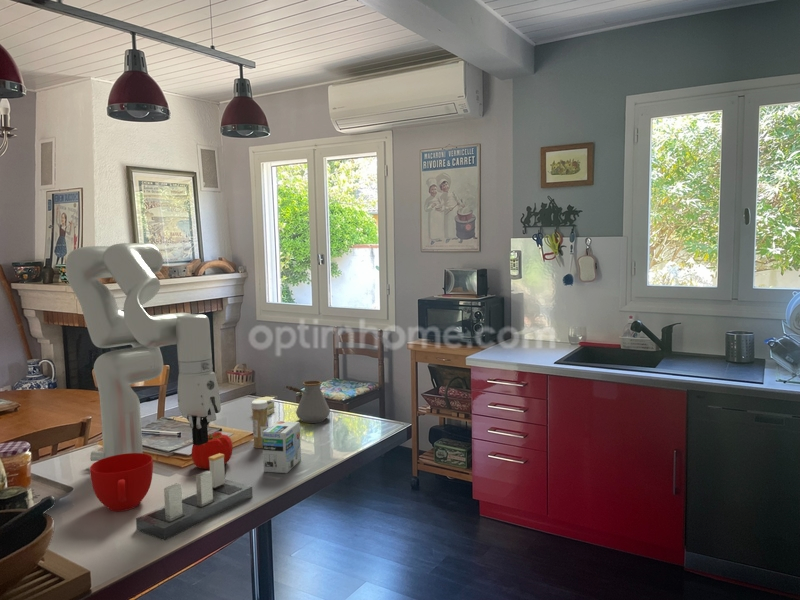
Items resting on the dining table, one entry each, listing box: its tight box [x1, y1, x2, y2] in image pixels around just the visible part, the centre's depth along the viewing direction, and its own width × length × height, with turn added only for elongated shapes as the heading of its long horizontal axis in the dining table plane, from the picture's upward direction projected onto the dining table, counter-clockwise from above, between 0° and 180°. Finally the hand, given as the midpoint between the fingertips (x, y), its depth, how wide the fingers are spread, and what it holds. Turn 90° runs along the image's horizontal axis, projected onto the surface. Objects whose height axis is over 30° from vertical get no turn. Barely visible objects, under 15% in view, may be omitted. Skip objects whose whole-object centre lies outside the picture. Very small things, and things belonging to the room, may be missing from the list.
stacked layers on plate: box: [253, 396, 276, 416], centre depth 211 cm, size 10×9×6 cm
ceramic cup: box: [89, 452, 154, 512], centre depth 134 cm, size 13×17×10 cm
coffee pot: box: [282, 380, 331, 424], centre depth 197 cm, size 21×12×15 cm, turn 157°
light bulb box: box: [262, 420, 302, 474], centre depth 159 cm, size 11×7×11 cm, turn 168°
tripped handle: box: [209, 453, 226, 487], centre depth 139 cm, size 3×2×7 cm, turn 148°
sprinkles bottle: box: [251, 400, 269, 449], centre depth 175 cm, size 5×5×13 cm
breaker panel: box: [135, 470, 253, 541], centre depth 131 cm, size 24×9×9 cm, turn 148°
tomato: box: [191, 431, 234, 470], centre depth 160 cm, size 11×11×9 cm
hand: (200, 443), depth 141 cm, fingers closed
